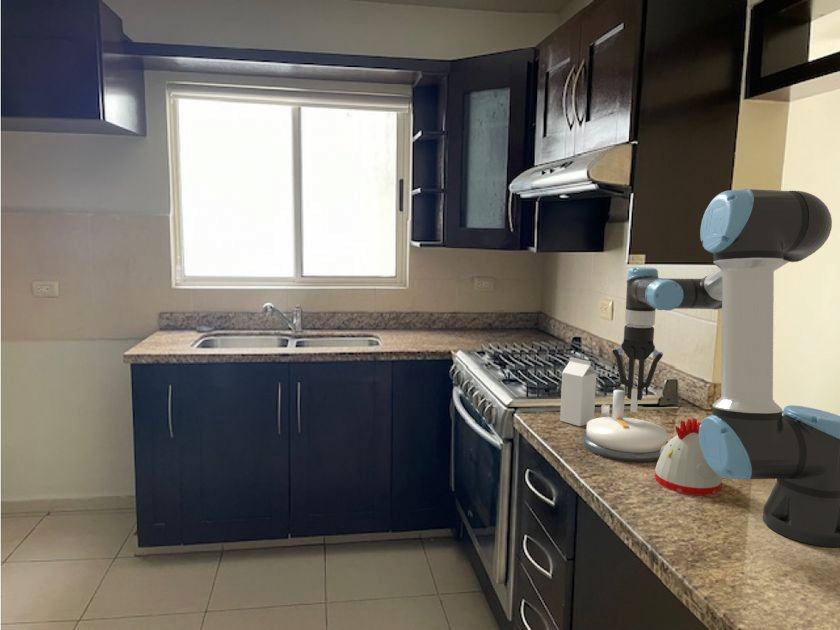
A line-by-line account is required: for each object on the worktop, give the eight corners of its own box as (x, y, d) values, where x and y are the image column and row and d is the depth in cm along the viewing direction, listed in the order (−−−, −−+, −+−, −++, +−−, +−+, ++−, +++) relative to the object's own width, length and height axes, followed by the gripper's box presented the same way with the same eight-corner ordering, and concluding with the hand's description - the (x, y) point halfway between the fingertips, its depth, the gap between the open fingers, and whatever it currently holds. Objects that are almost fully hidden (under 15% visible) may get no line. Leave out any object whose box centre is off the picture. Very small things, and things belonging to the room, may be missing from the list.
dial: (678, 453, 152) (682, 410, 150) (597, 451, 152) (600, 408, 150) (650, 427, 171) (652, 389, 170) (578, 426, 172) (580, 388, 170)
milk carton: (580, 427, 178) (583, 363, 176) (559, 421, 183) (562, 358, 181) (593, 422, 183) (597, 359, 180) (573, 416, 188) (576, 355, 186)
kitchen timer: (641, 474, 144) (646, 412, 142) (688, 467, 149) (692, 407, 147) (685, 499, 131) (691, 431, 129) (735, 490, 136) (741, 425, 134)
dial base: (665, 469, 147) (668, 440, 146) (573, 453, 157) (575, 426, 156) (673, 438, 170) (675, 413, 169) (592, 426, 179) (593, 402, 178)
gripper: (666, 325, 164) (660, 410, 168) (616, 321, 170) (611, 404, 173) (664, 329, 158) (657, 418, 161) (611, 325, 163) (606, 411, 167)
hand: (633, 410), depth 167 cm, fingers closed
